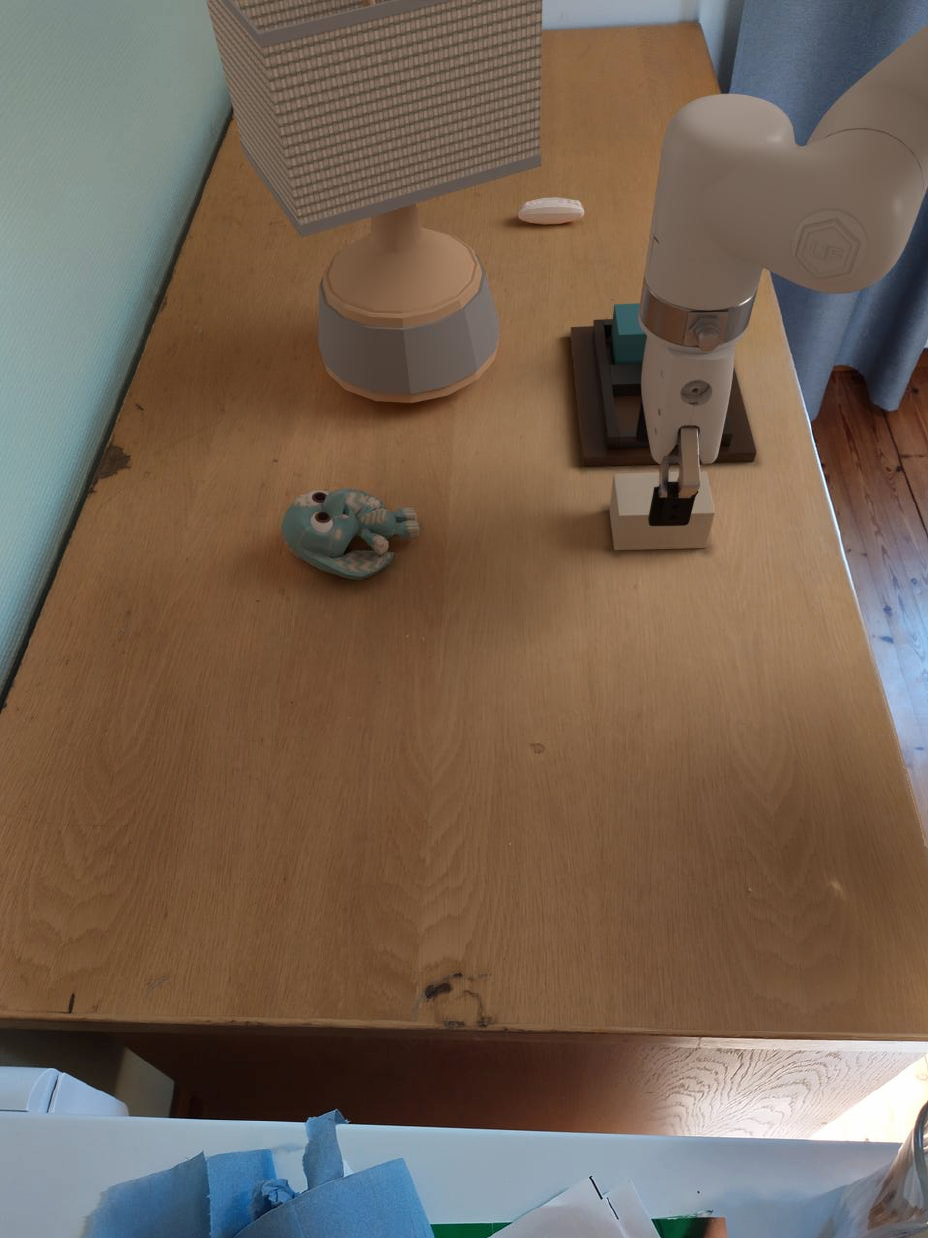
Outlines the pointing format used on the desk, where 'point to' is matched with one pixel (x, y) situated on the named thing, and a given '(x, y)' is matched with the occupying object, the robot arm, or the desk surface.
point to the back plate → (632, 406)
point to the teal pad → (627, 335)
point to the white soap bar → (551, 211)
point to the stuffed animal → (344, 531)
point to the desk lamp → (388, 163)
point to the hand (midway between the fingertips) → (660, 479)
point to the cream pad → (634, 508)
